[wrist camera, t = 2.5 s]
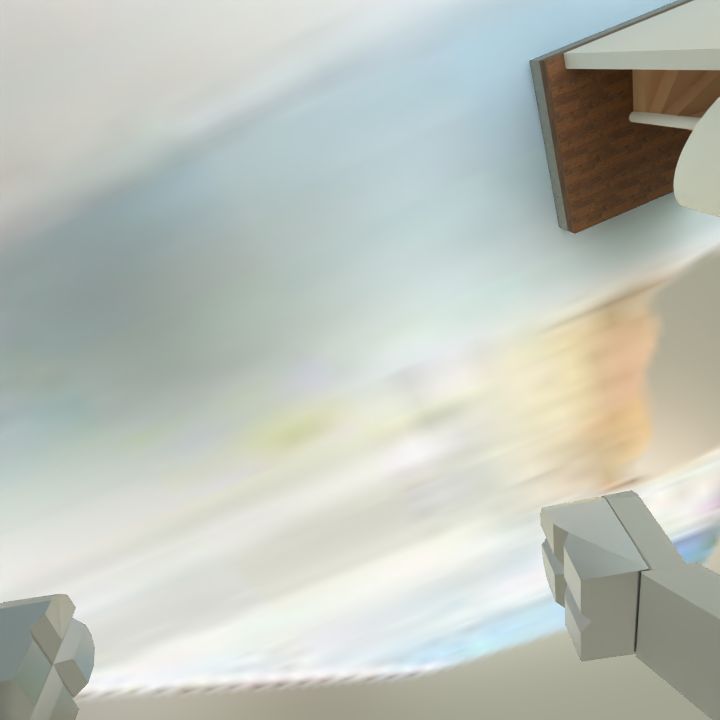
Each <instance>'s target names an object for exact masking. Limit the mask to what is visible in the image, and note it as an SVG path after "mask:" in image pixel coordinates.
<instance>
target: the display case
mask: <svg viewBox="0 0 720 720" xmlns="http://www.w3.org/2000/svg"><path fill="white" fill-rule="evenodd" d="M530 65H531V71H532V76H533V82H534V87H535V93H536V99H537V104H538V110H539V116H540V121H541V127H542V133H543V138H544V144H545V149H546V155H547V161H548V166H549V172H550V178H551V183H552V189H553V194H554V200H555V206H556V211H557V217H558V223H559V227H561V228H563V229H565V230H568V231H570V232H572V233H577V232H580V231H582V230H584V229H587V228H589V227H591V226H594V225H596V224H598V223H601V222H603V221H605V220H608V219H610V218H612V217H615V216H617V215H619V214H622V213H624V212H626V211H629V210H631V209H633V208H636V207H638V206H640V205H643V204H645V203H647V202H650V201H652V200H654V199H657V198H659V197H661V196H664V195H666V194H668V193H671V192H673V191H674V194H675V198H676V200H677V202H678V203H679V204H680V205H681V206H683V207H686V208H690V209H693V210H697V211H700V212H704V213H707V214H711V215H714V216H718V217H720V0H678V1H676V2H673V3H671V4H668V5H666V6H663V7H661V8H658V9H656V10H653V11H651V12H648V13H646V14H644V15H641V16H639V17H636V18H634V19H631V20H629V21H626V22H624V23H621V24H619V25H616V26H614V27H612V28H609V29H607V30H604V31H602V32H599V33H597V34H594V35H592V36H589V37H587V38H584V39H582V40H580V41H577V42H575V43H572V44H570V45H567V46H565V47H562V48H560V49H557V50H555V51H552V52H550V53H548V54H545V55H543V56H540V57H538V58H535V59H533V60H530Z"/></svg>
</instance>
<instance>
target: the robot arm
mask: <svg viewBox="0 0 720 720" xmlns="http://www.w3.org/2000/svg"><path fill="white" fill-rule="evenodd" d="M540 515H541V527H542V529H543V531H544V533H545V536H546V540H545V541H544V542H543V544H542V555H543V563H544V567H545V572H546V577H547V580H548V583H549V586H550V589H551V591H552V594H553V596H554V599H555V601H556V602H557V603H558V604H560V605H561V606H563V607H564V608H565V625H566V627H567V630H568V632H569V634H570V636H571V639H572V641H573V643H574V646H575V648H576V650H577V653H578V655H579V657H580V660H581V661H588V660H595V659H602V658H609V657H616V656H623V655H629V654H636V657H637V658H638V659H640V660H641V661H642V662H643V663H644V664H646V665H647V666H648V667H649V668H650V669H652V670H653V671H654V672H655V673H656V674H658V675H659V676H660V677H661V678H663V679H664V680H665V681H666V682H667V683H669V684H670V685H671V686H672V687H673V688H675V689H676V690H677V691H678V692H679V693H681V694H682V695H683V696H684V697H685V698H687V699H688V700H689V701H690V702H692V703H693V704H694V705H695V706H696V707H698V708H699V709H700V710H701V711H702V712H704V713H705V714H706V715H707V716H708V717H710V718H711V719H712V720H720V575H719V574H717V573H715V572H714V571H712V570H710V569H708V568H706V567H704V566H702V565H700V564H699V563H697V562H696V563H689V564H687V563H686V562H685V560H684V559H683V558H682V556H681V555H680V553H679V552H678V551H677V549H676V548H675V546H674V545H673V544H672V542H671V541H670V539H669V538H668V536H667V535H666V534H665V532H664V531H663V529H662V528H661V527H660V525H659V524H658V522H657V521H656V520H655V518H654V517H653V515H652V514H651V512H650V511H649V510H648V508H647V507H646V505H645V504H644V503H643V501H642V500H641V498H640V497H639V496H638V494H637V493H635V492H633V491H626V492H621V493H616V494H610V495H605V496H602V497H595V498H590V499H585V500H579V501H574V502H569V503H563V504H558V505H553V506H547V507H542V509H541V514H540ZM75 608H76V607H75V606H74V604H73V603H72V601H71V600H70V598H69V597H68V595H66V594H55V595H49V596H42V597H35V598H29V599H22V600H16V601H9V602H3V603H0V720H75V719H76V716H77V713H78V710H79V708H78V705H77V703H76V700H75V698H74V697H75V696H76V695H77V694H78V693H79V692H80V691H81V690H82V689H83V688H84V687H85V686H86V685H87V683H88V682H89V679H90V675H91V672H92V669H93V666H94V649H95V648H94V643H93V639H92V635H91V633H90V631H89V630H88V628H87V626H86V625H85V624H83V623H81V622H79V621H77V620H75V619H73V618H72V616H73V614H74V611H75Z"/></svg>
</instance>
